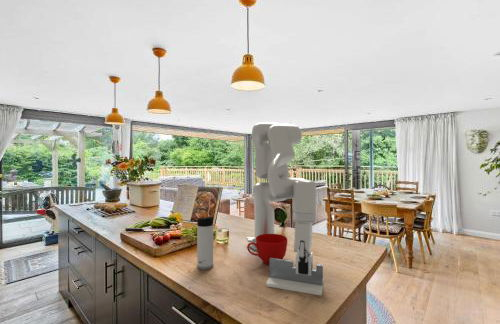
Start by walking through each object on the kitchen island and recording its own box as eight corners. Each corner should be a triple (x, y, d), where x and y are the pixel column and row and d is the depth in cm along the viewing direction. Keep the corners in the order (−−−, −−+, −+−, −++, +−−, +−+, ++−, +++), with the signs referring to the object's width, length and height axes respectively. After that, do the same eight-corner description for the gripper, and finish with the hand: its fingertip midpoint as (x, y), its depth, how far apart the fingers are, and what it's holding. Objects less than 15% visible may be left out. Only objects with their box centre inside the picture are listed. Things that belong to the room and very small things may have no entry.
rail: (269, 277, 89) (269, 259, 89) (270, 276, 90) (270, 257, 90) (322, 285, 83) (322, 266, 83) (322, 284, 84) (322, 264, 84)
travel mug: (200, 271, 96) (200, 219, 96) (195, 265, 102) (195, 215, 102) (215, 268, 99) (215, 217, 99) (210, 262, 105) (210, 214, 105)
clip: (295, 273, 84) (295, 255, 84) (298, 267, 89) (298, 250, 89) (311, 275, 82) (311, 257, 82) (312, 269, 87) (312, 252, 87)
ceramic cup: (243, 259, 108) (243, 235, 108) (279, 254, 113) (279, 232, 113) (251, 271, 96) (251, 245, 96) (292, 266, 101) (292, 241, 101)
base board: (266, 286, 85) (266, 282, 85) (273, 273, 94) (273, 270, 94) (321, 295, 79) (321, 291, 79) (323, 281, 88) (323, 277, 88)
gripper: (297, 211, 95) (297, 259, 95) (288, 221, 79) (288, 279, 79) (317, 212, 92) (317, 262, 92) (313, 223, 76) (313, 283, 76)
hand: (304, 269), depth 86 cm, fingers closed on clip, 5 cm apart
